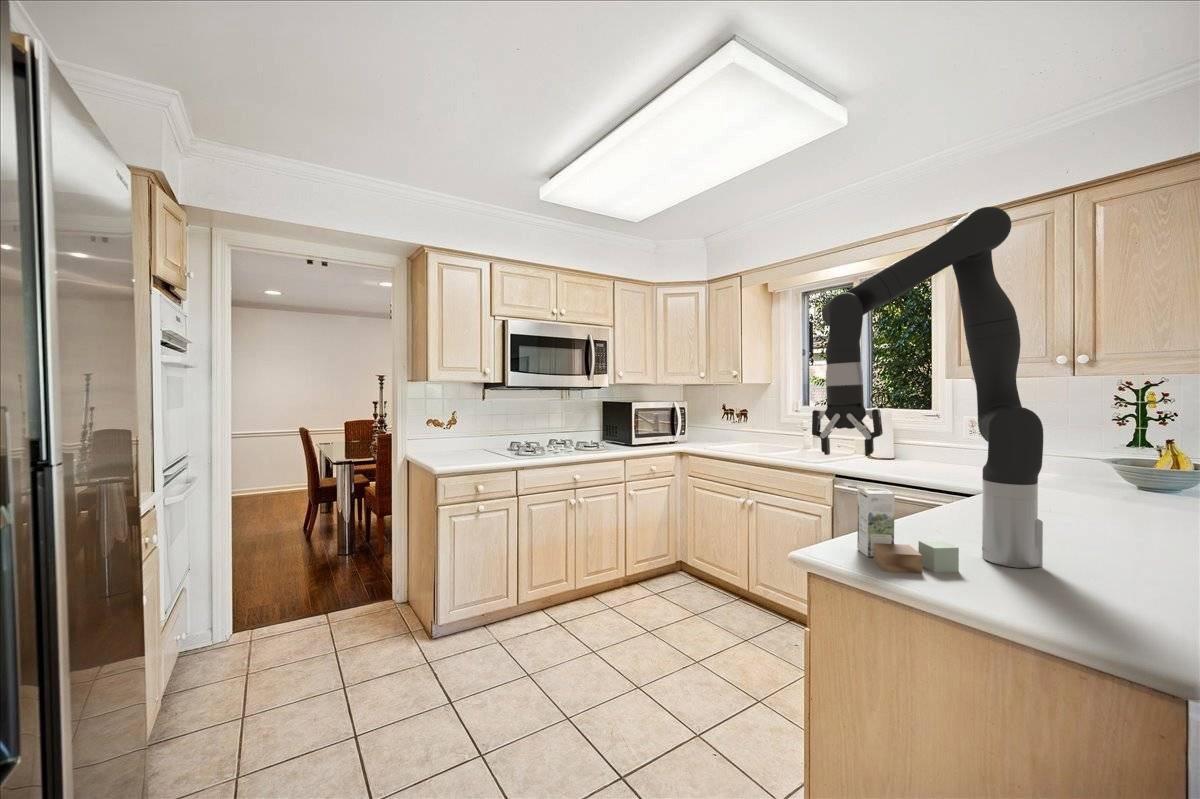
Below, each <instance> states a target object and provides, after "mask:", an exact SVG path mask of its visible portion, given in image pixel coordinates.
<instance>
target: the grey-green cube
mask: <svg viewBox="0 0 1200 799" xmlns="http://www.w3.org/2000/svg"><path fill="white" fill-rule="evenodd" d="M959 551H960V550H959V547H958V546H956V545H954V544H951V543H949V542H946V541H945V540H918V552H919V553H920V554H921V555H922V568H926V569H927V570H930V571H932V572H933V573H959V570H960V568H959V567H960V564H959V562H960V557H959V553H960V552H959Z"/></svg>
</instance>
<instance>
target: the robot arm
mask: <svg viewBox="0 0 1200 799" xmlns="http://www.w3.org/2000/svg"><path fill="white" fill-rule="evenodd" d="M1011 229H1012V220H1011V217H1010V215H1009V214H1008V213H1007V212H1006V211H1005V210H1003V209H1002V208H999V207H995V206H983V207H980V208H977V209H974V210H972V211H970V212H969V213H967V214H966V215H964V216H962V217H960V219H958V220H957V221H956V222H955V223H953V224H952V226H951V227H950V228H949V230H948V231H947V232H945V233H944V234H943V235H941V236H940V237H938V238H937V239H935V240H933V241H931V242H930V243H928V244H926V245H925V246H923V247H921V248H920V249H918V250H916V251H914V252H912V253H909V254H908V255H907V256H905V257H903V258H900V259H899V260H897V261H895V262H893V263H891V264H890V265H887V266H886V267H884V268H882V269H881V270H878V271H877V272H875V273H874V274H872V275H870V276H869V277H867V278H866V279H865V280H863V281H862V282H861V283H859V284H858V285H855V286H854V287H852V288H849V289H848V290H846V291H845V292H842V293H841V292H840V293H838V294H837V295H835V296H834V297H832V298H831V299H829V300H828V301H826V302H825V304H824V306H823V308H822V311H821V317H822V320H823V322H824V323H825V324H826V325H827V326H829V327H828V329H829V331H828V332H829V333H828V334H829V338H828V340H827V342H826V347H825V348H826V349H825V353H826V354H825V356H826V357H825V358H826V361H825V362H826V370H825V386H826V388H825V389H826V409H825V410H823V409H821V410H820V409H813V410H812V412H811V413H812V415H811V416H812V418H811V421H812V422H811V435H812V436H816V437H819V438H820V444H821V449H820V450H821V452H822V453H823V454H824V455H825V456H829V455H831V454H830V453H831V446H830V445H831V444H830V443H831V442H830V439H831V438H829V436H830V435H831V434H832V432H833V431H834V430H835V429H836V428H837V429H839V430H840V429H845V428H846V429H848V430H850V429H852V430H853V429H856V430H858V432H860V433H861V434H862V435H863V437H864V438H865V439H864V456H865V457H871V455H872V454H874V451H875V450H874V449H875V447H874V439H876V438H878V437H881V436H882V435H883V434H884V433H883V424H882V415H881V410H880V409H879V408H874V409H866V408H865V400H864V397H865V396H864V379H863V378H864V377H863V369H862V358H861V357H862V356H861V352H862V351H861V336H862V329H863V321H864V320H863V319H864V315H866V314H868V313H870V312H871V311H873V310H874V309H876V308H880V307H882V306H885V305H887V304H888V303H891V301H893V300H895V299H897V298H898V297H900V296H902V295H905V294H906V293H908V292H909V291H911V290H912V289H914V288H916V287H918V286H919V285H920V284H922V283H924V282H925V281H926V280H929V279H930V278H931V277H933V276H934V275H936V274H938V273H939V272H941V271H943V270H945V269H946V268H948V267H950V266H952V269H953V271H954V272H953V273H954V275H955V276H954V277H955V279H956V283H957V288H958V296H959V303H960V308H961V315H962V321H963V323H962V324H963V330H964V334H965V340H966V345H967V350H968V354H969V361H970V365H971V366H970V367H971V370H972V374H973V377H974V383H975V389H976V402H977V404H976V405H977V426H978V431H979V433H980V436H981V437H982V438H983V439H984V440H985V441H986V442H987V443H988V444H987V447H988V448H987V460H986V462H985V464H984V465H983V467H982V516H981V517H982V519H981V520H982V533H981V538H982V545H981V550H982V552H981V553H982V554H981V555H982V559H984V560H986V561H988V562H990V563H993V564H997V565H1000V566H1005V567H1011V568H1019V569H1033V568H1037V567H1039V568H1041V567H1042V568H1043V566H1044V565H1043V563H1044V562H1043V560H1044V559H1043V558H1044V557H1043V555H1044V554H1043V553H1044V550H1043V549H1044V548H1043V546H1044V542H1043V538H1044V532H1043V531H1044V530H1043V528H1044V522H1043V521H1042V520H1041V519H1039V517H1038V513H1039V512H1038V510H1039V509H1038V506H1039V505H1038V504H1039V502H1038V501H1039V498H1038V496H1039V492H1038V490H1039V484H1038V483H1039V474H1040V472H1041V470H1042V467H1043V457H1044V456H1043V455H1044V427H1043V423H1042V420H1041V419H1040V417H1039V416H1038V415H1037V413H1035V412H1034V411H1033V410H1030V409H1029V408H1026V407H1023V406H1022V403H1021V400H1020V396H1019V390H1018V386H1017V384H1018V383H1017V372H1018V365H1019V360H1020V354H1021V353H1020V352H1021V333H1020V328H1019V327H1020V326H1019V321H1018V316H1017V313H1016V309H1015V307H1014V304H1013V303H1012V301H1011V300H1010V298H1009V297H1008V295H1007V293H1006V292H1005V291H1004V290H1003V288H1002V287H1001V286H1000V284H999V282H998V280H997V277H996V274H995V269H994V265H993V250H995V249H996V248H998V247H1000V245H1001V244H1002V243H1004V242H1005V241H1006V239H1007V238H1008V237H1009V235H1010V234H1011V233H1010V232H1011V231H1012V230H1011ZM824 416H825V417H826V418H827V419H828V421H829V422H828V423H827V424H826V426H825V428H824V429H823V431H822V430H821V422H822V421H821V420H823V419H824ZM866 416H868V418H869V419H870V420H872V424H873V431H871V430H870V429H869V428H868V426H867V425H866V424H865V423H864V421H863V420H864V418H865V417H866Z"/></svg>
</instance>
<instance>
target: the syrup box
mask: <svg viewBox="0 0 1200 799" xmlns="http://www.w3.org/2000/svg"><path fill="white" fill-rule="evenodd" d="M895 499H896V497H895V494H894V493H893V492H892V491H891V490H889V489H886V488H857V550H858V551H859V552H861V553H862V554H864V555H865V556H866V557H868V558H874V543H882V544H895V506H896V505H895V504H896V503H895V501H896V500H895Z"/></svg>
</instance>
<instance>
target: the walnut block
mask: <svg viewBox="0 0 1200 799" xmlns="http://www.w3.org/2000/svg"><path fill="white" fill-rule="evenodd" d="M873 561H874V563H876V564H877V566H878V567H879V568H880V569H881V570H882V571H883V572H884V573H886V572H887V573H901V574H902V573H903V574H920V575H923V566H922V555H921V554H920V553H919V550H918V551H917V549H915V548H914V547H913V546H911V545H910V544H901V543H894V544H882V543H874V557H873Z"/></svg>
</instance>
